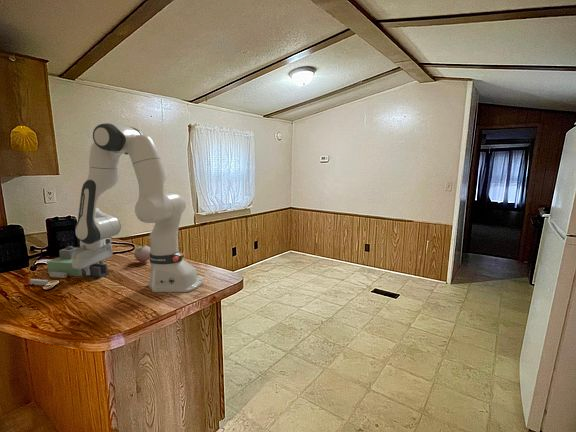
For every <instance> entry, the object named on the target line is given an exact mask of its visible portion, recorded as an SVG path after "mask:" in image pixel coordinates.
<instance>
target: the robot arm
mask: <svg viewBox="0 0 576 432" xmlns="http://www.w3.org/2000/svg"><path fill="white" fill-rule="evenodd" d="M92 140H93V143H92V144H91V146H90V149H89V157H88V158H89V159H88V167H89V168H88V176H87V178H86V181H85V182H83V184H82V187H81V190H80V191H81V192H80V199H79V200H80V201H79V208H78V215H77V221H76V224H75V226H74V227H75V228H74V234H75V237H77V238H78V239H79V240H80V247H79V248H78V247H76V249H75V250H74V251H73V253H72V254H73V255H72V268H73V269H79V270H80V269H84V270H85V271H86V275H91V274H92V271H90V270H89V268H90V265H92V264H95V263H97V262H98V264H105V260H106V259H109V258H112V256H113V245H112V239H111V238H112V237H114V236H116V235H118V234H120V232H121V226H122V225H121V222H120V220H119V219H118V217H116V216H114V215H111V214H107V213H105V212H103V211H101V210H100V208H99V207H97V204H98V200H99V197H100V196H101V195H103V194H104V193H106V192H107V191H109V190H111V189H112V188H113V187H116V185H117V184H118V182H119V179H120V157H121V156H122V155H123V154H124V155H128V156H129V158H130V160H131V161H130V162H131V165H132V167H133V170H134V173H135V176H136V177H135V178H136V180H137V185H138V198H137V202H136V203H135V206H134V214H135V216H136V218H137V219H138V220H139V221H141V222H142V223H146V224H154V226H153V228H152V230H151V232H150V233H149V247H150V251H151V253H150V258H149V263H150V275H149V276H150V277H149V281H148V287H149V289H150V290H151V292H153V293H189V292H193V291H194V290H196V289H197V288H199V287H200V286H201V285H203V282H204V280H203V277H199V276H198V272H197V270H196V268H195V267H194V266H193V265H191V264H190V263H188V262H187V261H186V260H184V258H183V256H184V255H185V252H182V253H181V251H180V250H179V237H178V236H179V227H180V223H181V219H182V218H181V217H182V215H183V213H184V211H185V209H186V205H187V204H186V201H185V198H184V197H183V196H182V195H181V194H179V193H174V192H165V181H166V179H167V174H166V170H165V168H164V165H163V161H162V159H161V155H160V153H159V150H158V148H157V147H156V146H157V145H156V144H155V143H154V141H153V139H152V138H151V137H150V136H149V135H145V134H144V133H143V132H142V131H141V130H140V129H138V128H135V127H132V126H131V127H130V126H126V125H123V124H119V123H118V124H117V123H116V124H115V123H107V122H106V123H101V124H97V126H95V127H94V128H93V131H92ZM77 238H76V239H77Z"/></svg>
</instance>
